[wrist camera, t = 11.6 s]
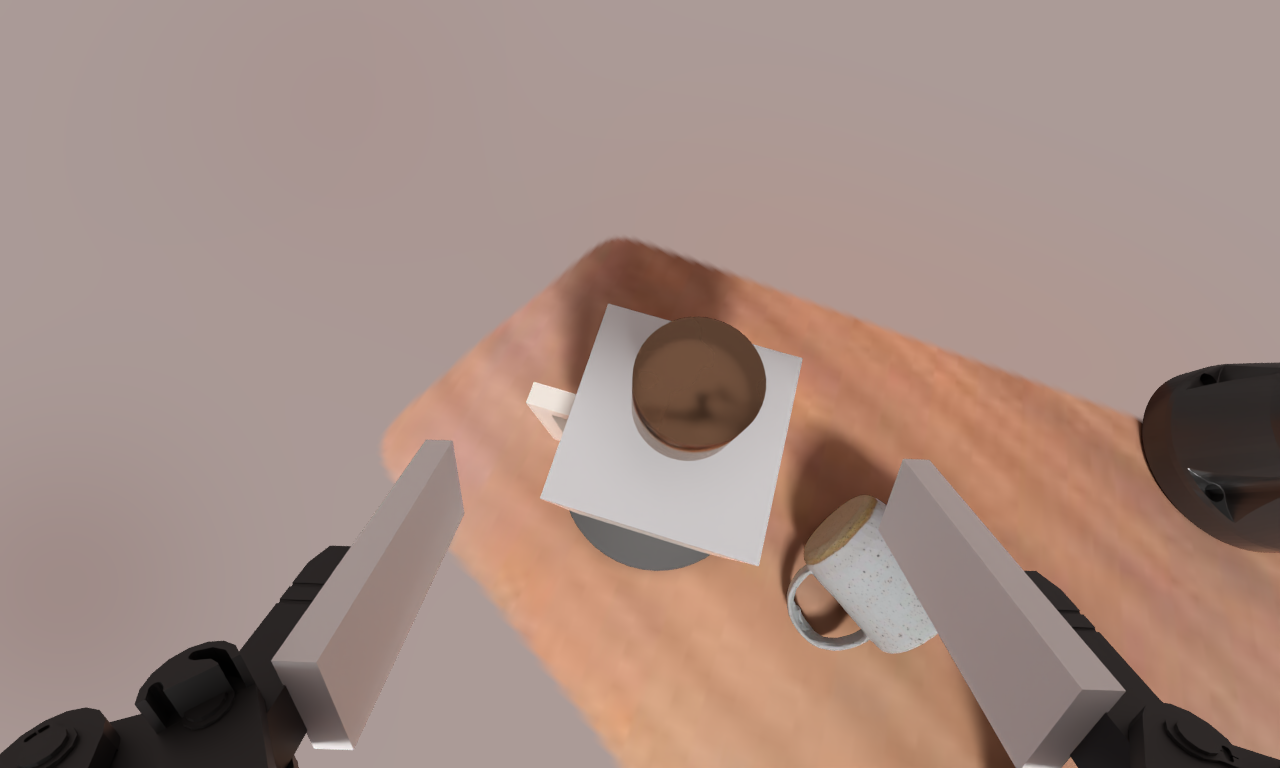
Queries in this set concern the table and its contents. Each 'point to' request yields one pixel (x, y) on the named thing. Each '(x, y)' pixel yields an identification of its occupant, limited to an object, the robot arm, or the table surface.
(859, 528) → the ceramic mug
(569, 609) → the table surface
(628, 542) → the trivet
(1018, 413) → the table surface
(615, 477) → the jug
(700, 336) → the plunger
